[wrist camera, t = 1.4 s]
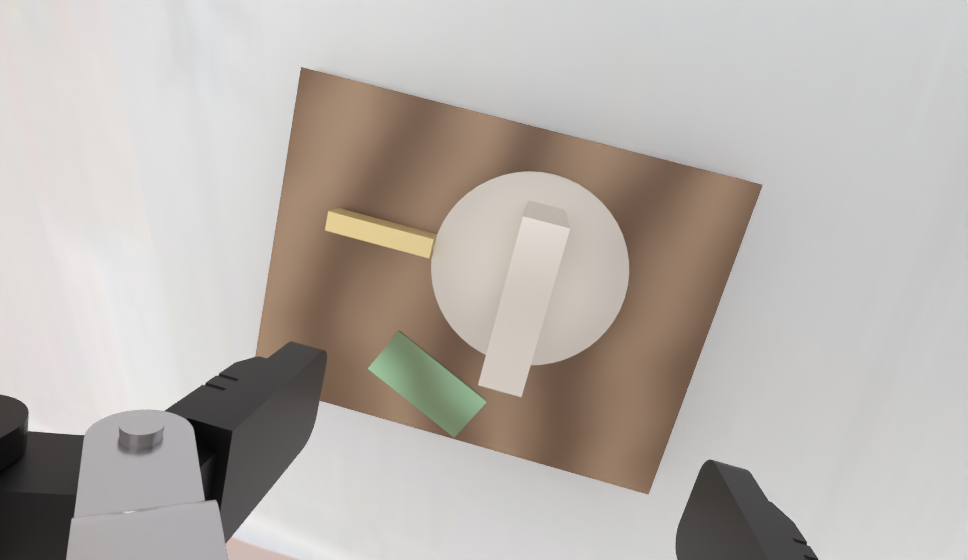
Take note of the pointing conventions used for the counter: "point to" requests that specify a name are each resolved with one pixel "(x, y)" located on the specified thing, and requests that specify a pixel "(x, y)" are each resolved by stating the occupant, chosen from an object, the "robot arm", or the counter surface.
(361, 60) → the counter surface
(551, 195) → the dial knob
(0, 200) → the counter surface
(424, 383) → the dial board
